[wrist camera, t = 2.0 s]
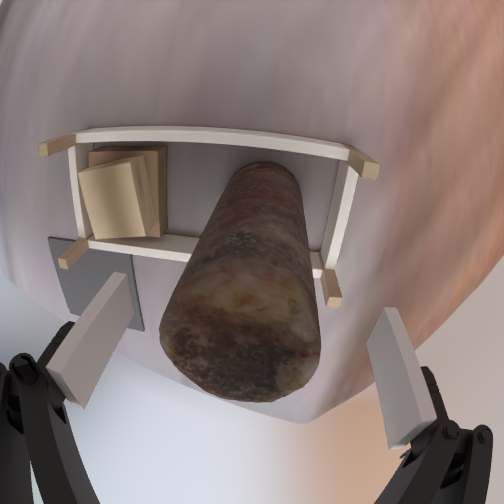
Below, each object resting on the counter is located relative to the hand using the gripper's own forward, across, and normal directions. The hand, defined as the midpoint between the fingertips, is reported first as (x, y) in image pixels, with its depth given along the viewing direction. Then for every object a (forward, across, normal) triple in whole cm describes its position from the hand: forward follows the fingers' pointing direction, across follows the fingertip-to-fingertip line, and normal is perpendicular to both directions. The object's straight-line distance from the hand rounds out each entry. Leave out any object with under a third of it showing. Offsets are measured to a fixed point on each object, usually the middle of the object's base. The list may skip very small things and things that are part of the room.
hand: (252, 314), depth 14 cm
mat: (+17, -22, -15) cm, 32 cm away
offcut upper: (+14, -14, 0) cm, 20 cm away
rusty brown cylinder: (+17, 0, 0) cm, 17 cm away
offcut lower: (+17, -14, 0) cm, 22 cm away
